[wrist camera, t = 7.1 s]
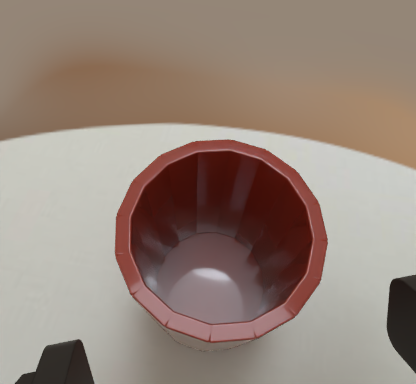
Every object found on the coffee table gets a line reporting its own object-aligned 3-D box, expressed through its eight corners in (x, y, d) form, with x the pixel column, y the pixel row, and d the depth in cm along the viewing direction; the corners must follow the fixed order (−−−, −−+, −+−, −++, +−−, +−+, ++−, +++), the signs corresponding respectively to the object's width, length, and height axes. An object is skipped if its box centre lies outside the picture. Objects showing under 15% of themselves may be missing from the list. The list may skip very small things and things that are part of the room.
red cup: (260, 225, 19) (303, 135, 12) (278, 345, 17) (350, 331, 9) (148, 232, 19) (118, 144, 11) (150, 356, 16) (111, 351, 9)
